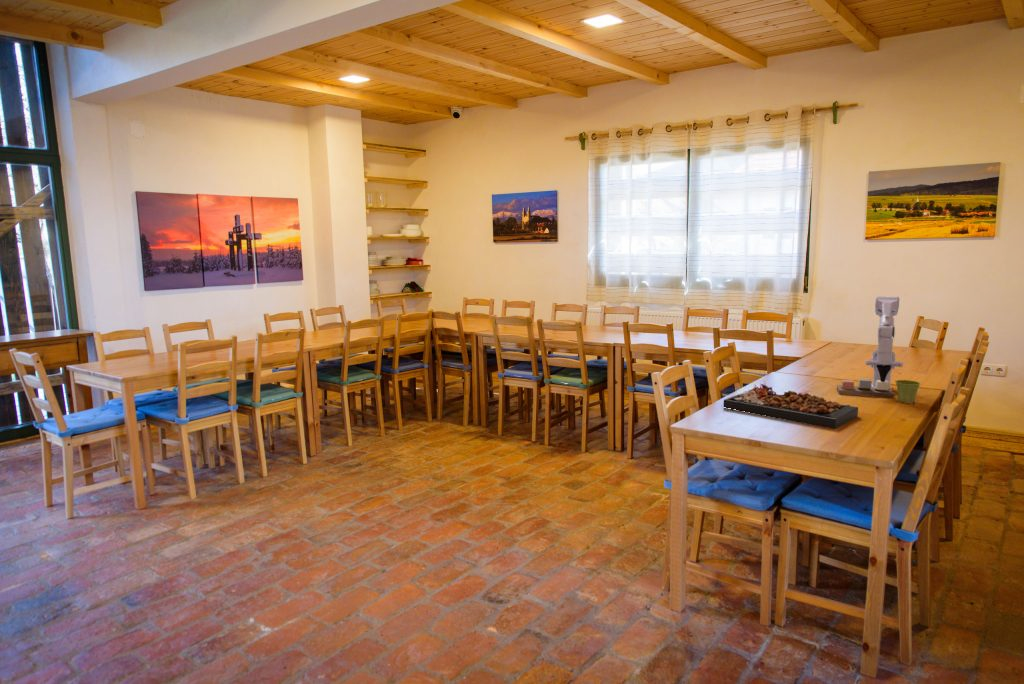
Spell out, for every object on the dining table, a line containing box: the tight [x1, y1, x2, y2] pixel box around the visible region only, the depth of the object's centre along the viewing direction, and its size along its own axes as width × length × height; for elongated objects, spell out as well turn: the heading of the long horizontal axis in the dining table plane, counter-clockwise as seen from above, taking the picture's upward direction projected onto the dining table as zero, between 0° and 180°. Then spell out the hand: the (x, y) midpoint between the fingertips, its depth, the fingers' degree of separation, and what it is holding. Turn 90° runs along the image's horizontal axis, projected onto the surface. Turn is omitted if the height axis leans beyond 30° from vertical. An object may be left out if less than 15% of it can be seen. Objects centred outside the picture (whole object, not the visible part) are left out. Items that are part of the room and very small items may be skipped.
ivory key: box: [876, 380, 889, 390], centre depth 291 cm, size 5×5×4 cm
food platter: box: [723, 380, 859, 430], centre depth 262 cm, size 45×25×10 cm, turn 44°
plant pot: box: [895, 379, 921, 404], centre depth 277 cm, size 9×9×9 cm
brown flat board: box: [836, 384, 895, 399], centre depth 294 cm, size 11×22×2 cm, turn 68°
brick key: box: [841, 379, 855, 390], centre depth 296 cm, size 5×5×4 cm
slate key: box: [858, 378, 873, 389], centre depth 293 cm, size 5×5×4 cm
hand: (882, 381), depth 290 cm, fingers closed, pressing on ivory key
